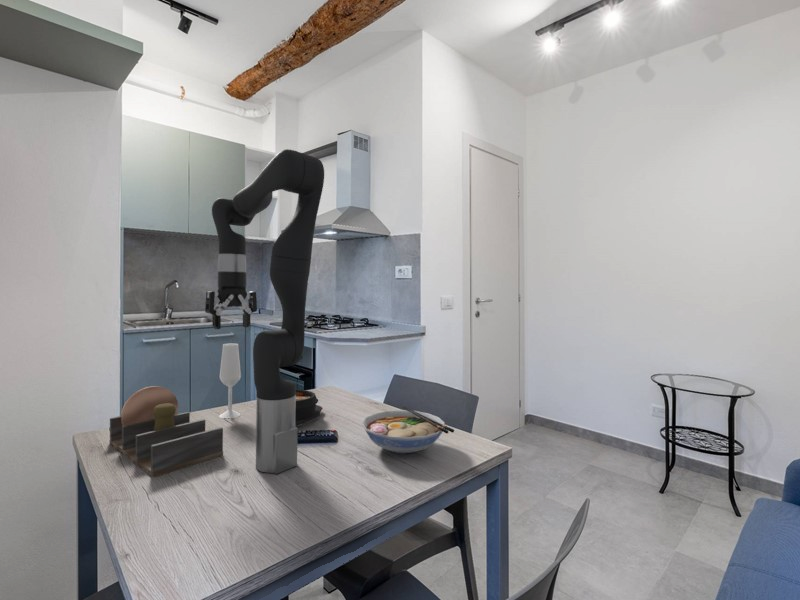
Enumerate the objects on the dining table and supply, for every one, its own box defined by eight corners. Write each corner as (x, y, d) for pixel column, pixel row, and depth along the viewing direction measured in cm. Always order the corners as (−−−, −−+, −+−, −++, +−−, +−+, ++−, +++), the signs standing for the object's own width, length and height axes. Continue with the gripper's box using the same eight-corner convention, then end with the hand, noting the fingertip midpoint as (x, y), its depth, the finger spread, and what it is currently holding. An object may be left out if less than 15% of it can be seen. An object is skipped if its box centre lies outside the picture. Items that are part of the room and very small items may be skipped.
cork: (170, 450, 105) (170, 407, 105) (146, 449, 105) (146, 407, 105) (181, 441, 111) (181, 401, 111) (159, 441, 111) (159, 401, 111)
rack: (223, 454, 105) (223, 397, 105) (153, 477, 93) (153, 411, 92) (173, 427, 124) (173, 379, 124) (109, 443, 111) (109, 388, 111)
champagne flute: (240, 411, 142) (241, 342, 141) (240, 417, 135) (241, 345, 135) (219, 413, 139) (219, 343, 138) (218, 419, 133) (219, 346, 132)
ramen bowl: (347, 439, 118) (348, 411, 118) (416, 428, 128) (417, 402, 128) (384, 475, 96) (385, 441, 96) (464, 459, 106) (464, 428, 106)
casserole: (289, 406, 149) (290, 383, 148) (335, 413, 143) (335, 389, 142) (242, 428, 125) (242, 401, 125) (294, 437, 119) (294, 408, 119)
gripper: (214, 269, 107) (214, 330, 108) (262, 271, 119) (261, 327, 119) (200, 269, 112) (200, 328, 112) (247, 272, 123) (247, 325, 124)
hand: (232, 328), depth 116 cm, fingers open, 8 cm apart
